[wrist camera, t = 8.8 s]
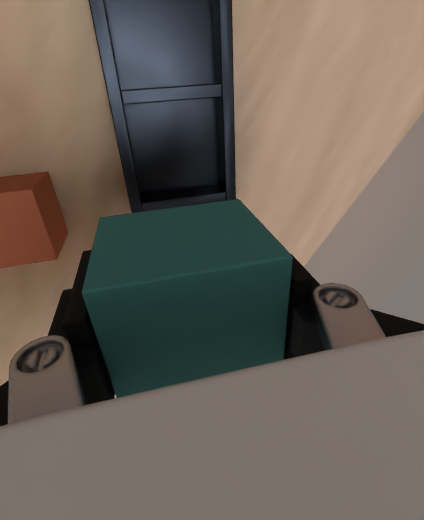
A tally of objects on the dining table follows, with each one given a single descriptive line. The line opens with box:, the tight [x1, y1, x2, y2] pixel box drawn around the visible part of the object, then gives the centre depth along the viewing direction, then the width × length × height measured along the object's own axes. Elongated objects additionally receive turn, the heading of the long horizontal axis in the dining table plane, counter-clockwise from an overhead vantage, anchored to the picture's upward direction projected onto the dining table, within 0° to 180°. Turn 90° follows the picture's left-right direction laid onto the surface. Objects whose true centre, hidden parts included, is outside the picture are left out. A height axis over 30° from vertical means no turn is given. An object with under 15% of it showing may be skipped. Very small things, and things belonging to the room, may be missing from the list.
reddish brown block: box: [0, 172, 68, 268], centre depth 22 cm, size 5×5×4 cm
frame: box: [89, 0, 236, 213], centre depth 21 cm, size 8×15×3 cm, turn 4°
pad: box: [82, 199, 293, 398], centre depth 10 cm, size 5×5×4 cm
